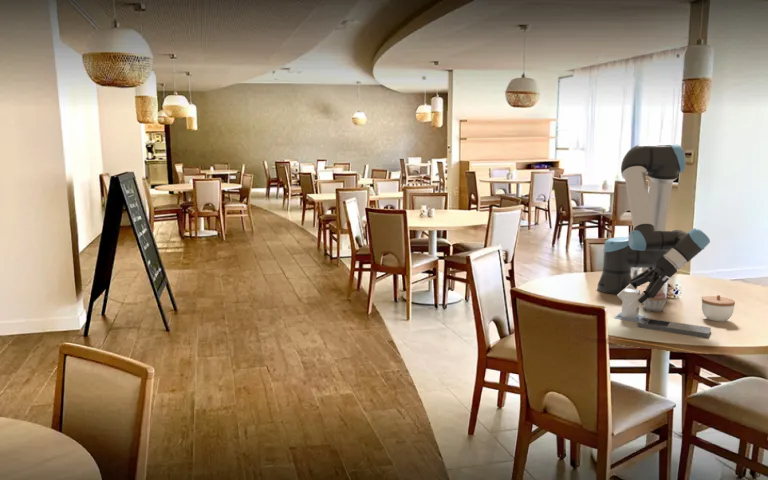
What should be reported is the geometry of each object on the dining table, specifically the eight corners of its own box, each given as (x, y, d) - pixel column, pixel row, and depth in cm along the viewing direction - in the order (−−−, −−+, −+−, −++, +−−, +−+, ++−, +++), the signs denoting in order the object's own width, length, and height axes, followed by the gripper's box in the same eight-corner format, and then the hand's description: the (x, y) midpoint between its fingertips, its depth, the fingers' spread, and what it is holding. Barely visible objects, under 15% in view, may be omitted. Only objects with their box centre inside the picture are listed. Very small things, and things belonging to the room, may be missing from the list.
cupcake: (667, 314, 237) (669, 288, 235) (641, 311, 240) (642, 286, 238) (665, 307, 245) (667, 283, 244) (640, 305, 248) (642, 281, 247)
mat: (614, 319, 229) (614, 318, 229) (620, 313, 237) (620, 312, 237) (640, 323, 224) (640, 322, 224) (645, 317, 232) (645, 316, 232)
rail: (637, 328, 219) (638, 322, 218) (642, 322, 225) (642, 317, 225) (707, 339, 207) (708, 333, 206) (710, 333, 213) (710, 327, 213)
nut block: (621, 317, 230) (623, 291, 228) (624, 314, 234) (626, 288, 232) (635, 319, 227) (637, 293, 225) (638, 316, 231) (640, 290, 230)
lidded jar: (694, 316, 234) (696, 292, 232) (721, 315, 235) (723, 291, 233) (711, 324, 223) (713, 299, 222) (739, 324, 224) (742, 298, 223)
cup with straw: (633, 275, 304) (636, 235, 300) (649, 279, 296) (652, 237, 293) (621, 277, 299) (624, 236, 296) (637, 281, 292) (640, 239, 288)
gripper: (691, 278, 214) (643, 319, 218) (664, 263, 239) (621, 300, 242) (676, 262, 214) (629, 304, 217) (650, 249, 238) (608, 287, 242)
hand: (625, 302), depth 230 cm, fingers open, 13 cm apart
